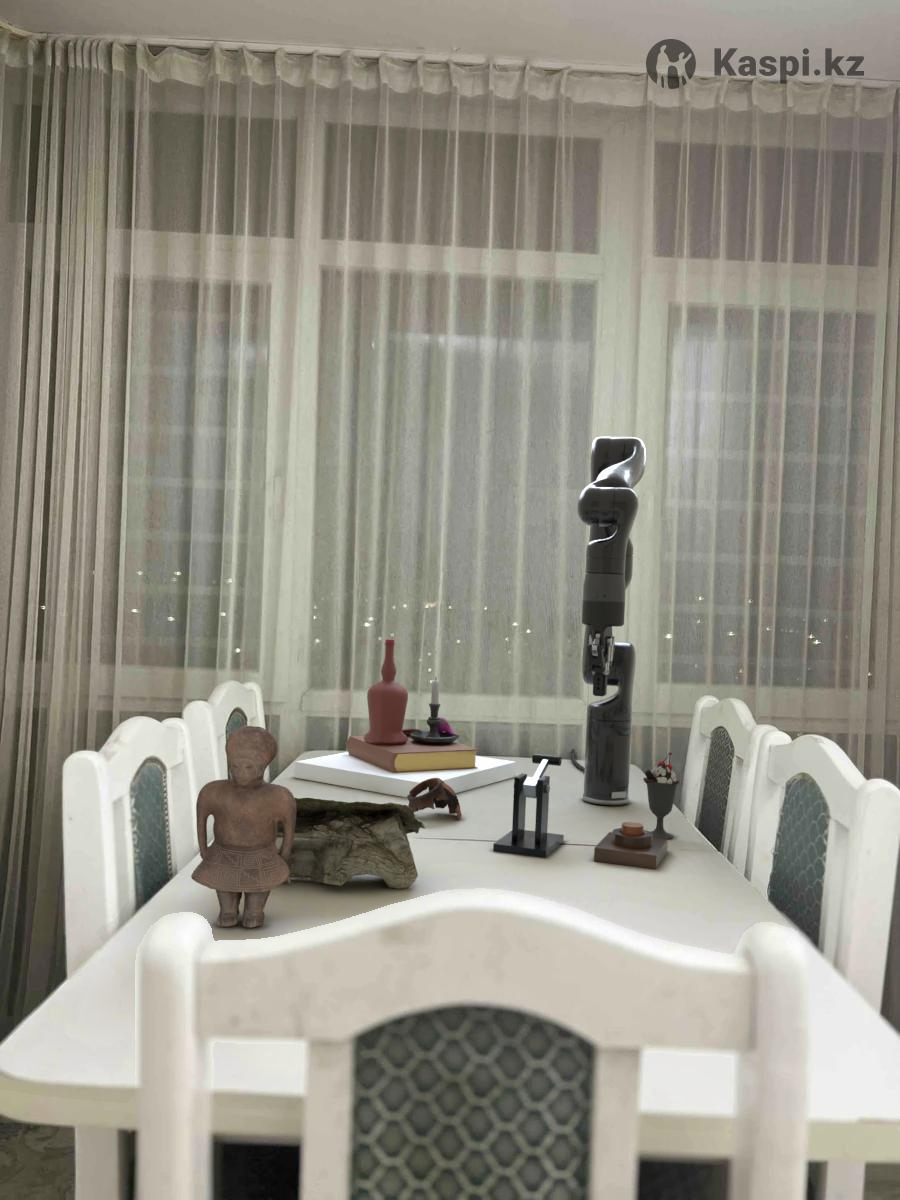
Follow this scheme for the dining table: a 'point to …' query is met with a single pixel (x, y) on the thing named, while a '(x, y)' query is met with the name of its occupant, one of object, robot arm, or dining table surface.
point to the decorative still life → (403, 748)
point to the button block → (631, 849)
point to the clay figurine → (245, 829)
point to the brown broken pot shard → (434, 796)
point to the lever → (539, 773)
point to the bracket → (539, 839)
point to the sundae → (661, 794)
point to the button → (632, 828)
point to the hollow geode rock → (352, 841)
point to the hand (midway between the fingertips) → (599, 695)
